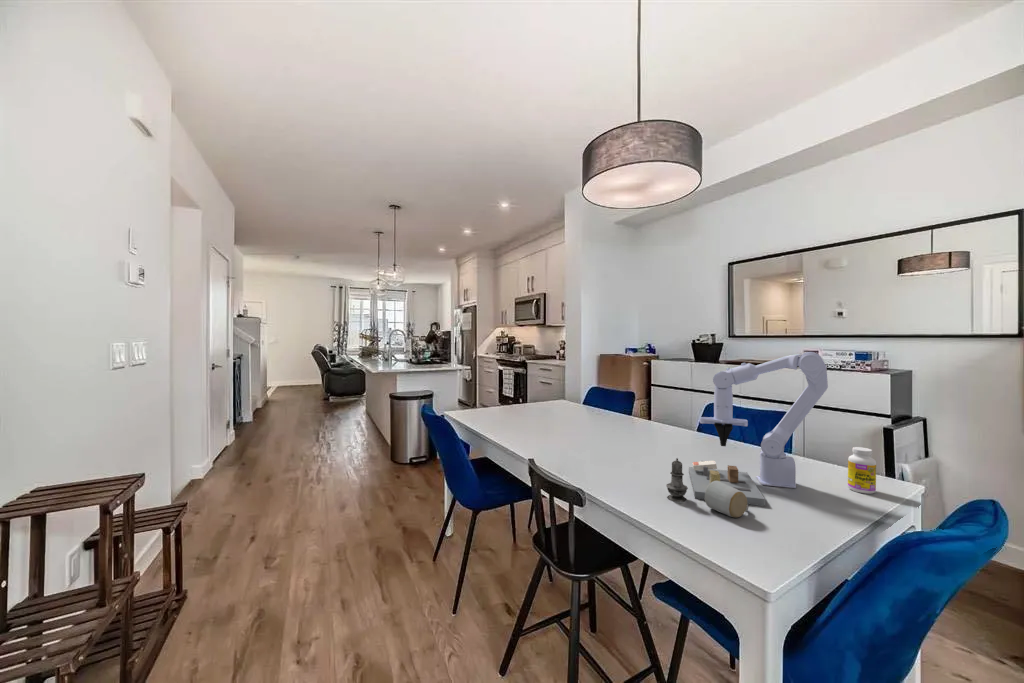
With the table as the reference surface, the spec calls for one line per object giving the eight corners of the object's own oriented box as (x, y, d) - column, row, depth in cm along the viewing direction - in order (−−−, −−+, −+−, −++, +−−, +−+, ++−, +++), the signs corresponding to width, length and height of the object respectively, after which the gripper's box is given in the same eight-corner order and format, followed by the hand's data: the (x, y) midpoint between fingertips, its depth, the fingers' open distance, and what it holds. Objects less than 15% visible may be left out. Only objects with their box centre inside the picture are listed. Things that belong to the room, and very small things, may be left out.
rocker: (715, 464, 141) (714, 459, 141) (717, 469, 136) (716, 463, 136) (693, 466, 143) (692, 461, 143) (694, 470, 138) (693, 465, 138)
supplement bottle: (851, 492, 127) (852, 450, 127) (844, 485, 133) (845, 445, 133) (879, 496, 124) (880, 452, 124) (871, 488, 130) (871, 447, 130)
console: (747, 478, 140) (747, 464, 139) (764, 506, 117) (765, 489, 117) (688, 472, 145) (688, 458, 145) (694, 498, 123) (694, 481, 123)
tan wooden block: (718, 484, 128) (718, 470, 128) (720, 488, 124) (720, 475, 124) (709, 483, 129) (709, 470, 129) (711, 487, 125) (711, 474, 125)
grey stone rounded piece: (689, 503, 119) (689, 461, 119) (667, 501, 120) (668, 460, 120) (685, 495, 125) (685, 455, 124) (664, 494, 126) (664, 454, 126)
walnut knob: (735, 478, 133) (736, 466, 132) (738, 482, 129) (738, 469, 129) (727, 477, 133) (727, 465, 133) (729, 482, 130) (729, 469, 129)
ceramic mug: (731, 522, 107) (731, 492, 107) (703, 510, 114) (704, 482, 114) (757, 514, 112) (757, 486, 112) (728, 503, 119) (729, 476, 119)
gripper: (701, 406, 142) (701, 446, 142) (749, 409, 137) (749, 450, 137) (699, 403, 149) (699, 441, 149) (745, 405, 144) (745, 445, 144)
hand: (723, 445), depth 144 cm, fingers closed
